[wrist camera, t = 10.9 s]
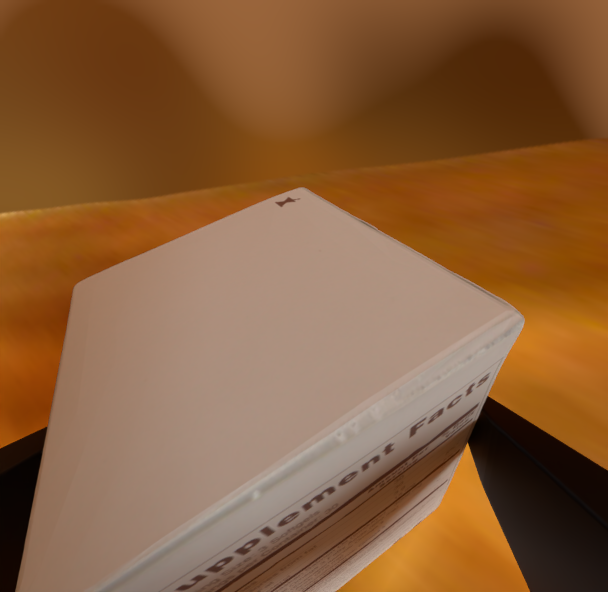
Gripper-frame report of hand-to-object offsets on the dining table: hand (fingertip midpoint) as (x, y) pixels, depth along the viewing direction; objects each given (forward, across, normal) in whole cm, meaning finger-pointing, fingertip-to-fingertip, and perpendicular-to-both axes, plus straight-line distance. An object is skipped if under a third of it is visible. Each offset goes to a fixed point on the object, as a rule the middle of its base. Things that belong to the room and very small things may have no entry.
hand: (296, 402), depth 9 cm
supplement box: (+4, 0, +8) cm, 9 cm away
